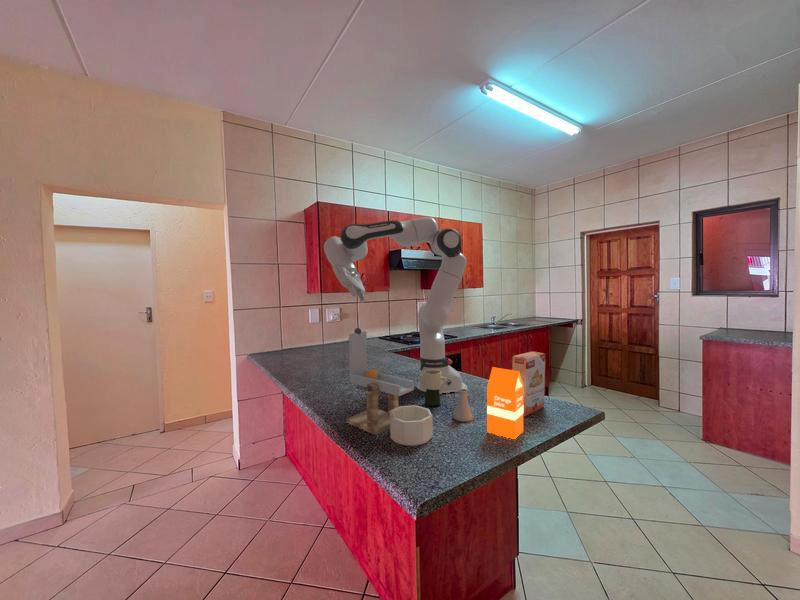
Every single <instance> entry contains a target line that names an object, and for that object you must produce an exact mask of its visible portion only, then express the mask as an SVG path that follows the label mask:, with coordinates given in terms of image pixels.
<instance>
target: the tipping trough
mask: <svg viewBox="0 0 800 600" xmlns="http://www.w3.org/2000/svg"><path fill="white" fill-rule="evenodd" d="M367 336H368V335H367V331H362V329H361V328H360V327H356V328H355V329H354V332H352V333H349V334H348V346H349V348H348V350H349V352H348V353H349V355H348V358H349V361H348V362H349V365H348V367H349V383H350V384H354V385H356V390H360V391H363V392H367V384H369V383H374V384H378V392H379V391H380V392H383V393H386V394H388V393H390V394H393V395H397V396H398V397H400V396H403V395H405V394H408V393H410V392H412V391H414V390H415V389H414V387H415V386H414V385H415V383H414V381H415V380H412V379H407V378H403V377H399V376H394V375H390V374H385V373H380V372H377V373H378V378H377V379H376V380H375V379H371V378H367V377H366V374H367V372H368V371H369V370H368V357H367V356H368V353H367V352H368V348H367V346H368V345H367V343H368V339H367Z"/></svg>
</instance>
